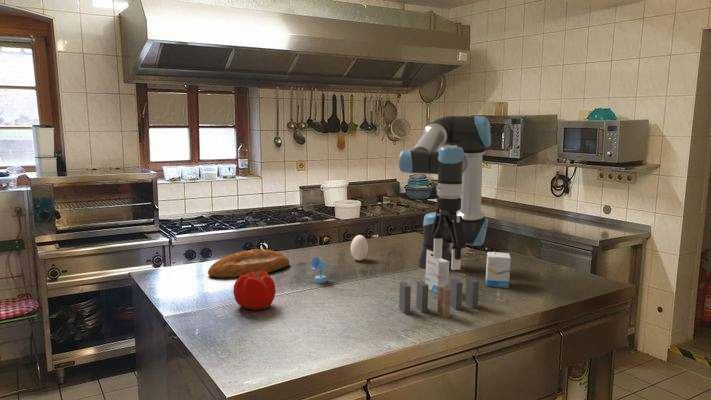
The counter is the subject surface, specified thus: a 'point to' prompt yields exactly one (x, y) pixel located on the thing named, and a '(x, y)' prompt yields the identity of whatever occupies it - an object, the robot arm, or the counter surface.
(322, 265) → the spotlight
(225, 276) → the bread
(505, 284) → the ink box
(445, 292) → the walnut domino
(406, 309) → the domino
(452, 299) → the domino
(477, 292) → the domino
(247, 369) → the counter surface
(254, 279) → the tomato
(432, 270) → the ink box
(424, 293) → the domino
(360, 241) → the egg
